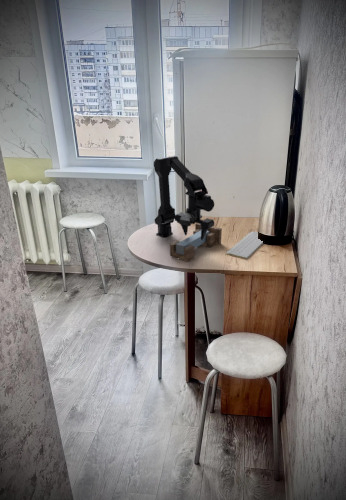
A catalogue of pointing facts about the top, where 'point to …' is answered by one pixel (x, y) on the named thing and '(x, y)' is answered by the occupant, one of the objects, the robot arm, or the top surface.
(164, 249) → the top surface
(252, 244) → the baseboard molding
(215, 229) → the headboard posts
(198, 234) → the bed rail
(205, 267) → the top surface
